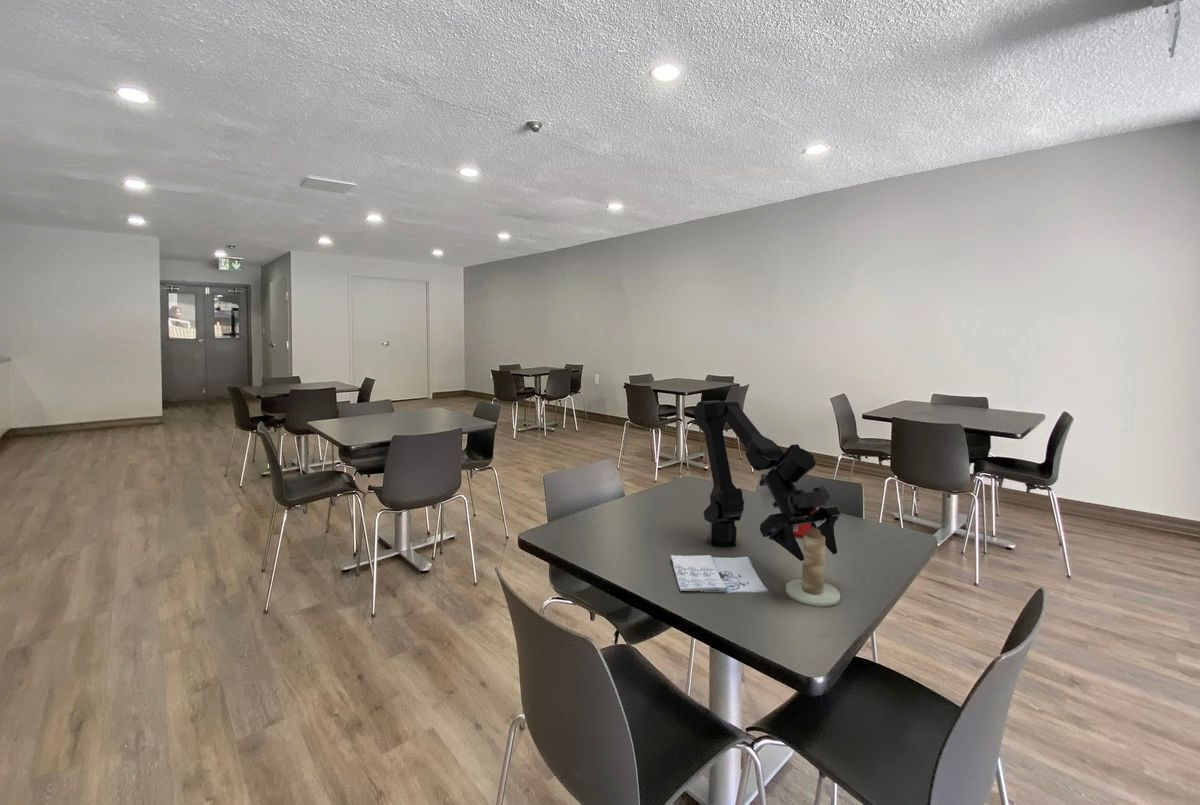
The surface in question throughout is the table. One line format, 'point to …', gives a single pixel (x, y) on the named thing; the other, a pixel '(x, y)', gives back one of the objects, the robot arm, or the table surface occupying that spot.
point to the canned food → (803, 527)
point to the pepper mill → (813, 562)
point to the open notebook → (716, 574)
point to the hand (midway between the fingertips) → (819, 556)
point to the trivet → (820, 600)
